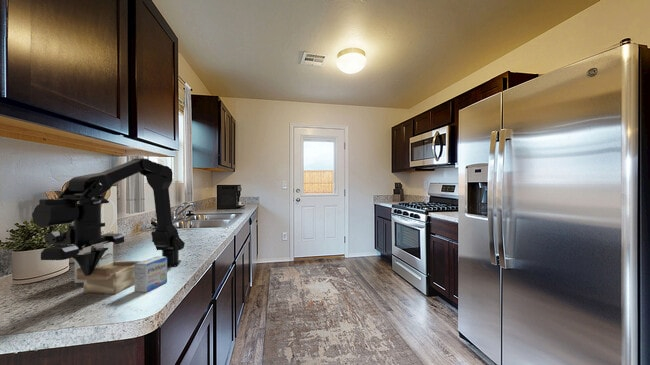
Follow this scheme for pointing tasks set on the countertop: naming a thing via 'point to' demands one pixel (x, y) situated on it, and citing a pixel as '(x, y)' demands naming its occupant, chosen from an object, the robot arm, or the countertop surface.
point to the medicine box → (150, 273)
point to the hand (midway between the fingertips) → (87, 275)
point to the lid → (100, 273)
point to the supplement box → (103, 261)
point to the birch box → (113, 280)
